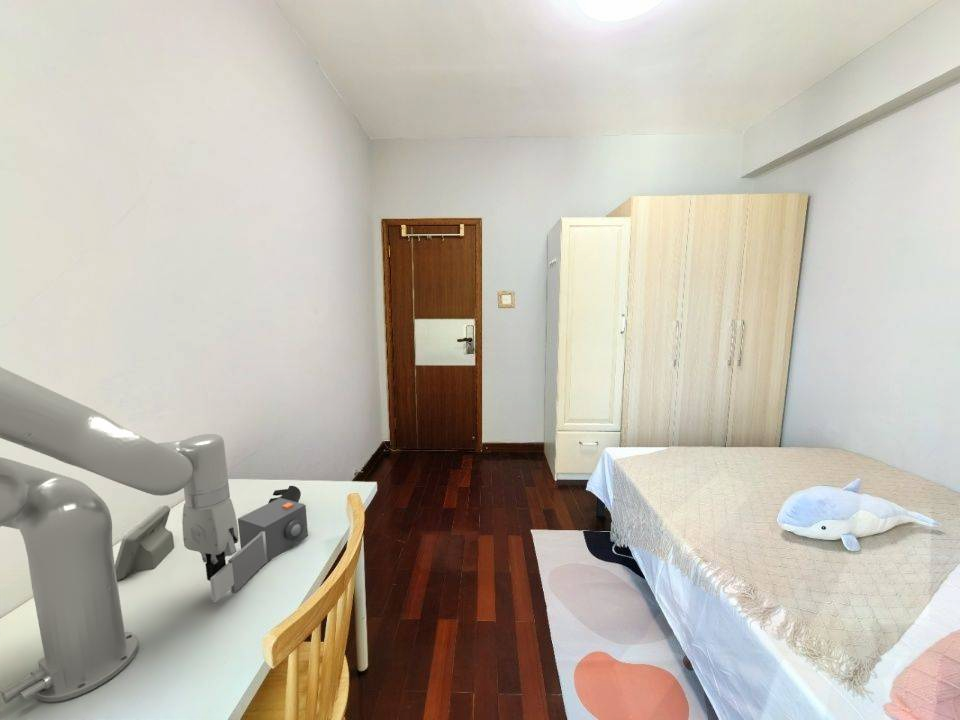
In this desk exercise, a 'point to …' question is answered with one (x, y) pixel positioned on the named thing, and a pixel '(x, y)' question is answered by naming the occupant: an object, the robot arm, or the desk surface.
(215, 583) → the side door
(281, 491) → the black curved claw shape
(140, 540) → the digital clock
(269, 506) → the camera body
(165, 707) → the desk surface
